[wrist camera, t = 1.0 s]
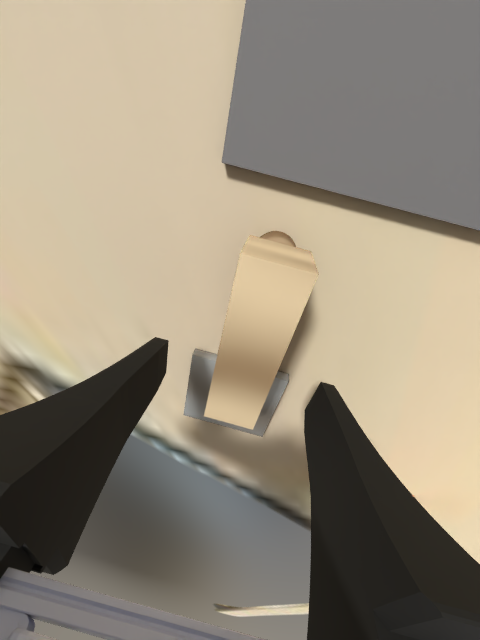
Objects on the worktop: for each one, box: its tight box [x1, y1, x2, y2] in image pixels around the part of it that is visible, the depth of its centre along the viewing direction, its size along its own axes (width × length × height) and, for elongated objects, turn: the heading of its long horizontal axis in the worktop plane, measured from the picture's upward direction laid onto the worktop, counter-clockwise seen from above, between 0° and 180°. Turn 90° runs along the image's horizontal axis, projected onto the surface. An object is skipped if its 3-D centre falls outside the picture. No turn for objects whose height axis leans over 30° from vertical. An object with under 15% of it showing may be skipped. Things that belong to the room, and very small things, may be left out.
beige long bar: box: [184, 231, 319, 437], centre depth 13 cm, size 14×6×4 cm, turn 167°
